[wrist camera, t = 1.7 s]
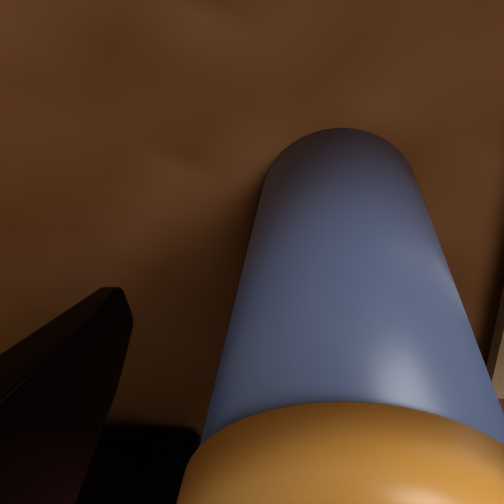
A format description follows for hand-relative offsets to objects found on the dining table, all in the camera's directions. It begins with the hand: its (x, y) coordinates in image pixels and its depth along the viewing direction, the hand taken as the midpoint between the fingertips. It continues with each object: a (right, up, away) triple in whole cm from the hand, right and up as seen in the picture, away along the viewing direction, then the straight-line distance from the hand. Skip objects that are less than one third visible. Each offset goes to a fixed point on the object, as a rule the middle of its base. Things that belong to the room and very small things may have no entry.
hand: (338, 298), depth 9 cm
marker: (+1, +2, +3) cm, 4 cm away
